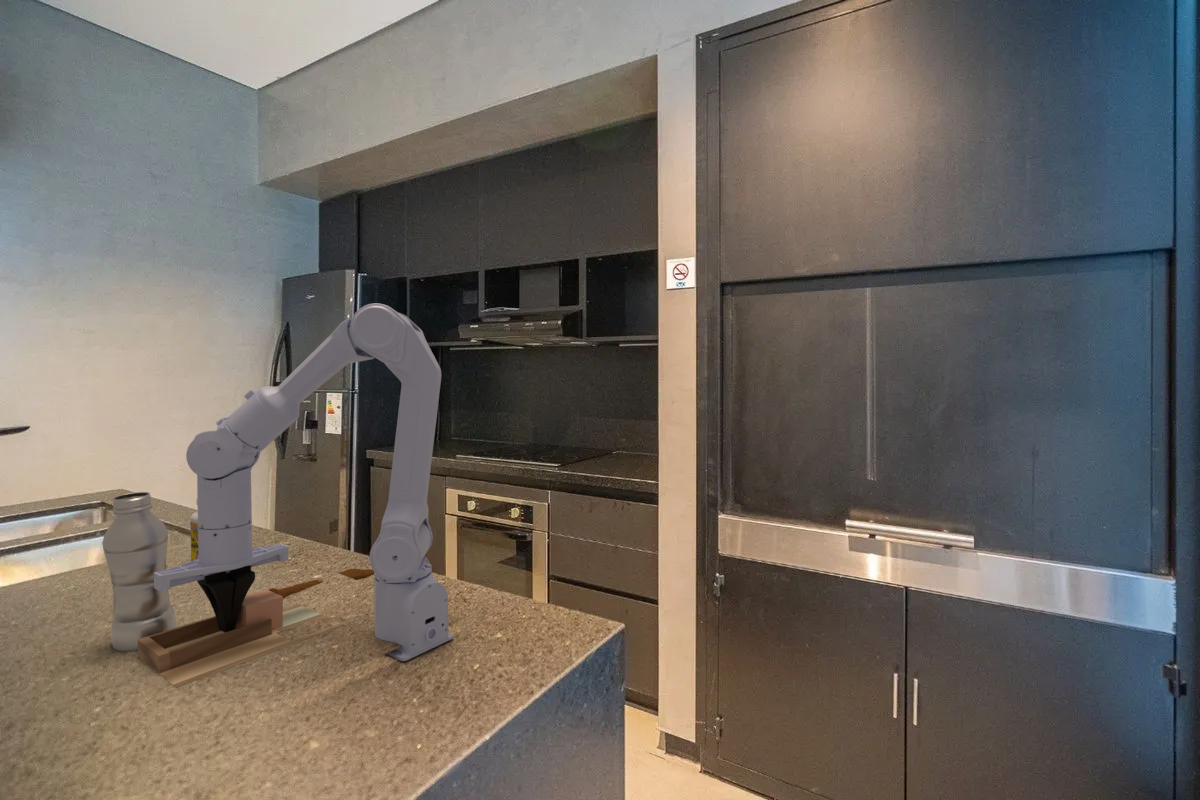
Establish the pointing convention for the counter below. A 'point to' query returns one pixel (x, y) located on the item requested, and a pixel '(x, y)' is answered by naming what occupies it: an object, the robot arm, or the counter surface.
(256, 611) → the block
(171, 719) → the counter surface
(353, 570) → the primitive tool
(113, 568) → the plastic bottle
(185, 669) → the board
